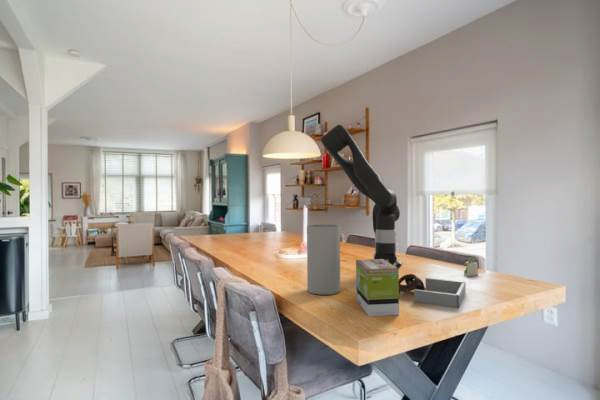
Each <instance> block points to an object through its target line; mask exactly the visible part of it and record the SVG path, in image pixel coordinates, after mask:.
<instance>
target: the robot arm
mask: <svg viewBox="0 0 600 400" xmlns="http://www.w3.org/2000/svg"><path fill="white" fill-rule="evenodd" d="M320 142H321V143H322V145H323V147H324V148H325V149H326V151H327V152H328V153H329V154H330V155H331V157H332V158H333V159H334V160H335V161H336V163H337V164H338V165H339V166H340V168H341V169H342V170H343V172H344V173H345V174H346V176H347V177H348V180H349V181H351V183H352V184H353V186H354V187H355V188H356V190H358V192H360V193H361V194H362V195H364V196H365V197H367V198H368V199H369V200H371V201H372V202H374V205H373V207H372V214H371V215H372V229H373V232H374V246H375V247H374V250H375V251H374V253H373V259H384V260H385V261H387V262H389V263H390V264H392V265H394V266H395V267H397V268H398V271H399V270H400V268H401V267H402V266H403V263H402V262H400V261H399V260H398V258H397V253H396V252H397V248H396V247H397V246H396V245H397V243H396V241H397V236H396V234H397V233H396V222H397V221H398V220H399V219H400V216H401V212H400V208H399V206H398V200H397V198H398V197H397V194H396V193H395V192H394V191H393V190H392V189H389V188H387V187H386V186H385V185H384V183H383V182H382V179H381V177H380V175H379V174H378V173H377V172H376V170H375V169H374V168H373V167H372V165H371V164H370V163H369V162H368V160H367V159H366V157H365V156H364V153H363V152H362V150H361V149H360V147H359V146H358V144H357V143H356V141H355V140H354V139H353V137H352V135H351V134H350V132H349V131H348V130H347V129H346V128H345V127H344V126H343V125H342V124H337V125H336V126H334V127H333V128H332V129H330V130H329V131H328V132H326V133H325V134H324V135H323V136H322V137H321V139H320ZM346 147H349V150H350V152H351V157H352V159H350V158H347V157H345V156H344V155H342V154H341V153H340V152H341V151H342V150H343V149H345V148H346Z"/></svg>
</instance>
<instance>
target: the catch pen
mask: <svg viewBox="0 0 600 400" xmlns="http://www.w3.org/2000/svg"><path fill="white" fill-rule="evenodd" d="M425 290H426V291H425ZM425 290H417V289H415V290H413V297H414V298H413V301H414V302H415V303H421V304H428V305H436V306H442V307H451V308H457V309H459V308H460V307H461V305H462V302H463V299H464V298H465V295H466V281H460V280H450V279H440V278H431V277H425ZM433 290H435V291H433ZM440 291H441V292H440ZM448 292H451V293H448Z"/></svg>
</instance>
